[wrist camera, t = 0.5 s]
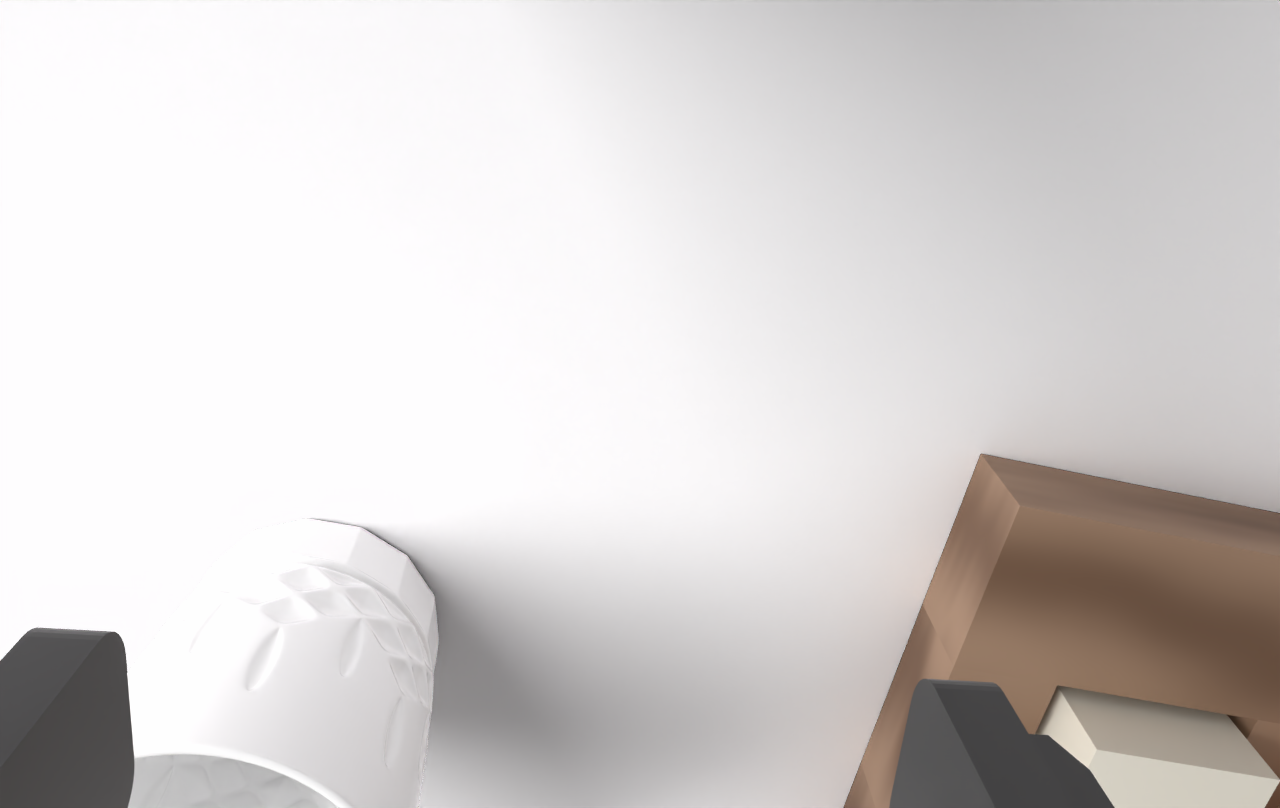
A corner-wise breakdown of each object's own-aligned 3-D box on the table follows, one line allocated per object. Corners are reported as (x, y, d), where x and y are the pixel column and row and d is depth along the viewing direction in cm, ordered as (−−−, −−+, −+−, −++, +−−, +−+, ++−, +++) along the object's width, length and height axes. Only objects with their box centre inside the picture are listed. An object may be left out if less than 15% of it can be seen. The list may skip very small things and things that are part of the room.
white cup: (404, 760, 33) (329, 1072, 24) (150, 675, 32) (-34, 975, 22) (501, 558, 30) (459, 822, 21) (229, 455, 29) (57, 692, 20)
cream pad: (1051, 676, 30) (1096, 749, 27) (1219, 705, 31) (1280, 780, 28) (987, 816, 32) (1024, 897, 29) (1147, 840, 33) (1197, 923, 30)
